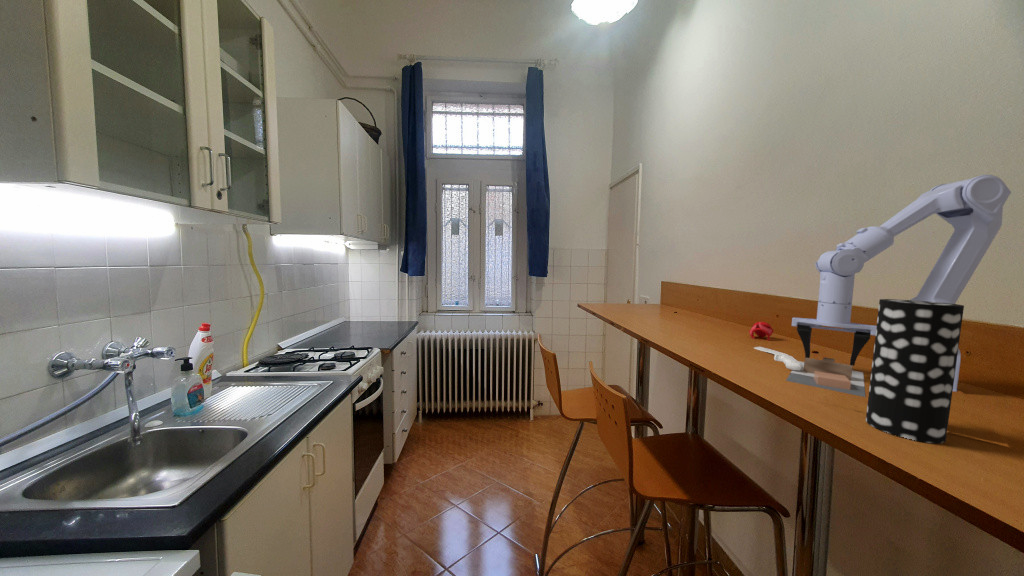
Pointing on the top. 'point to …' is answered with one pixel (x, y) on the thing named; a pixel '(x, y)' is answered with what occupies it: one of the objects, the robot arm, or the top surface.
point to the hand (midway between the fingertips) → (829, 360)
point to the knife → (783, 358)
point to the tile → (832, 380)
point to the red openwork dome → (761, 330)
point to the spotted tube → (914, 368)
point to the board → (808, 379)
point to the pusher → (827, 367)
